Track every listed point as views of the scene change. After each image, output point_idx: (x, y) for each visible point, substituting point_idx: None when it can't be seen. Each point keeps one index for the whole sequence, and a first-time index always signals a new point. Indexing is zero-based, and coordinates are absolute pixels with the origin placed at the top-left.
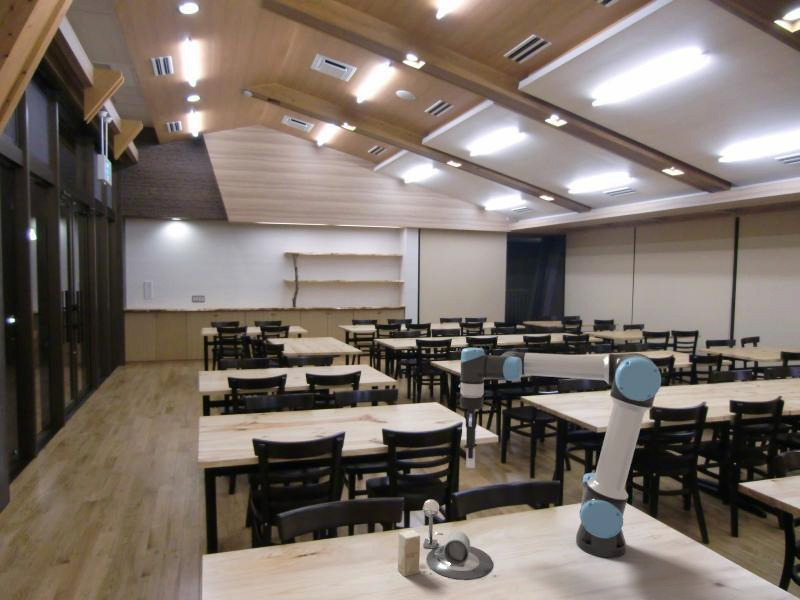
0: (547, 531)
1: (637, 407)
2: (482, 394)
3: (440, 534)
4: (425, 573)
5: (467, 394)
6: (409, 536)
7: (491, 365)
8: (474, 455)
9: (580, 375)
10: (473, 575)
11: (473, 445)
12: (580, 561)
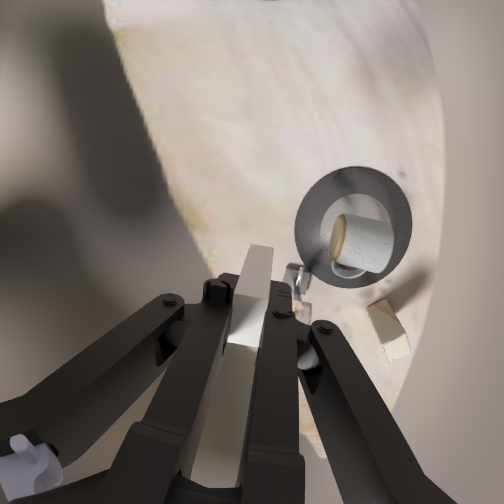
0: (214, 37)
1: None
2: None
3: (302, 272)
4: (388, 288)
5: None
6: (406, 348)
7: None
8: (269, 276)
9: None
10: (405, 213)
11: (343, 340)
12: (336, 12)
